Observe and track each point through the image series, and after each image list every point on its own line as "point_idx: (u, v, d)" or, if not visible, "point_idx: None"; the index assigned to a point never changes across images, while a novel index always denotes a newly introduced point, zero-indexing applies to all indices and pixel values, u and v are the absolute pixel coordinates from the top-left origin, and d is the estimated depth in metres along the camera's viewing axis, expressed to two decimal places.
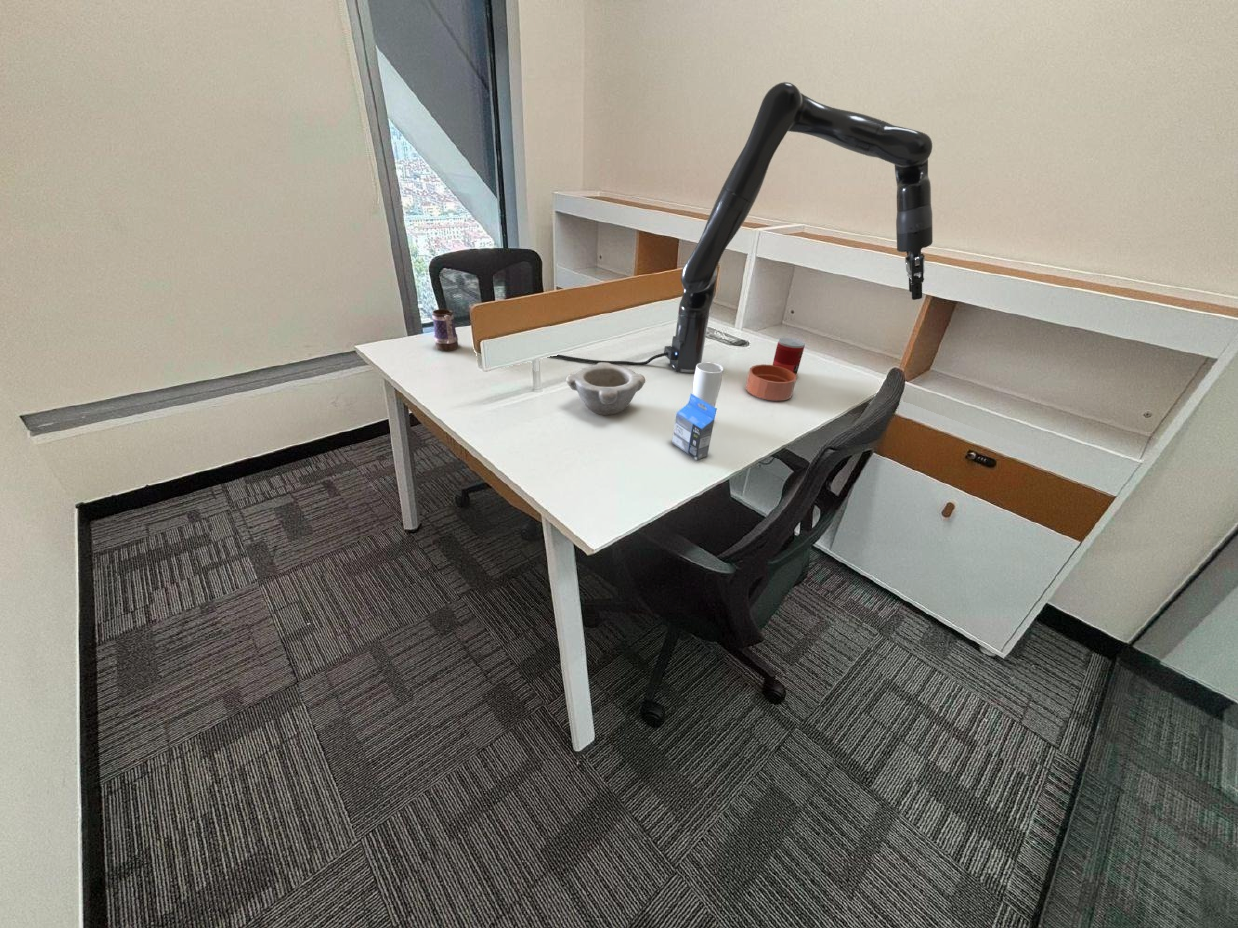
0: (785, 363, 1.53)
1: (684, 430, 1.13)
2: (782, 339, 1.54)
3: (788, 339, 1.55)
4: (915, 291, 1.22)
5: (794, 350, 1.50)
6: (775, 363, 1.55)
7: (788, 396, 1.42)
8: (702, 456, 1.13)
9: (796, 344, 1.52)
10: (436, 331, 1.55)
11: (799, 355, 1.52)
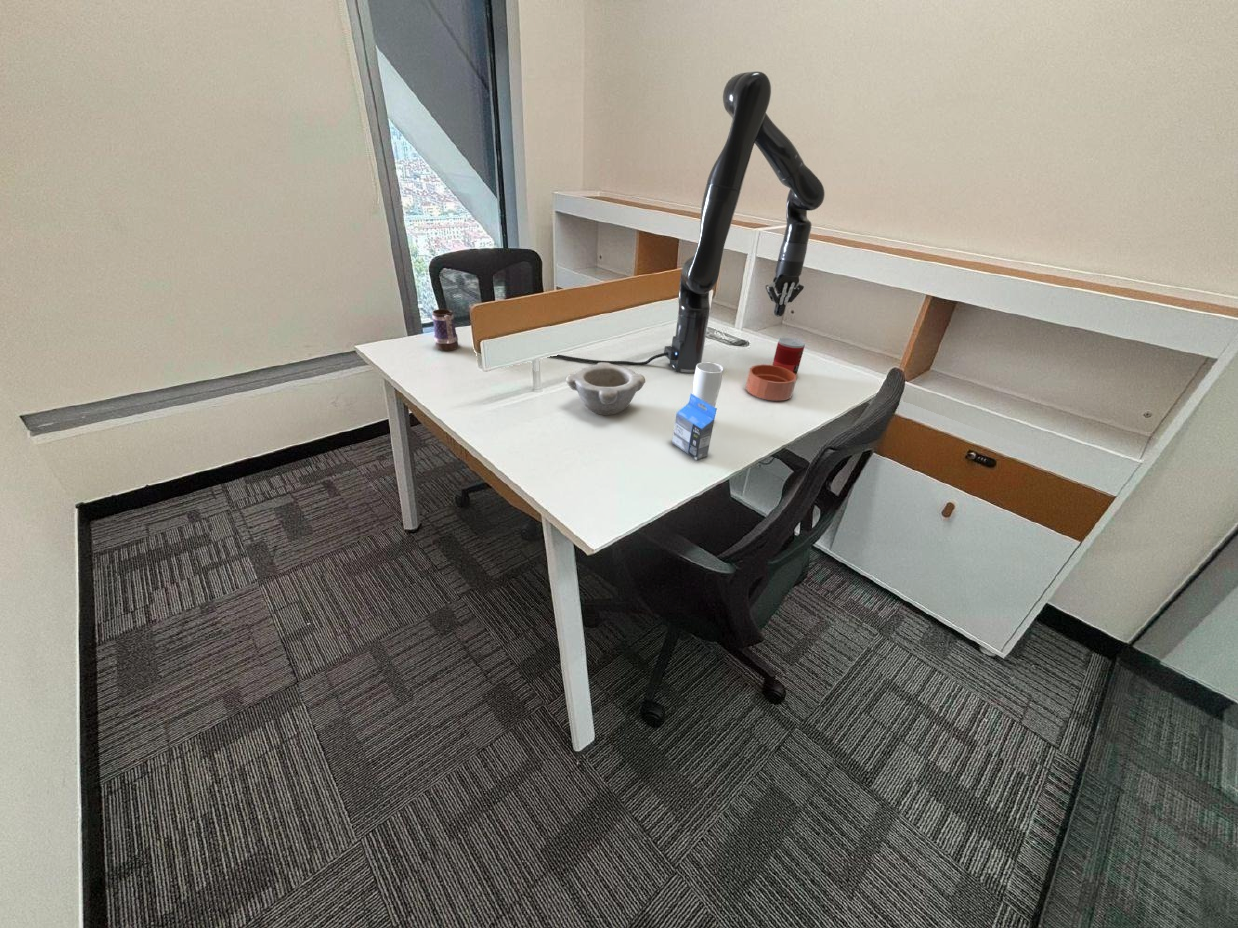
0: (785, 363, 1.53)
1: (684, 430, 1.13)
2: (782, 339, 1.54)
3: (788, 339, 1.55)
4: (775, 308, 1.56)
5: (794, 350, 1.50)
6: (775, 363, 1.55)
7: (788, 396, 1.42)
8: (702, 456, 1.13)
9: (796, 344, 1.52)
10: (436, 331, 1.55)
11: (799, 355, 1.52)
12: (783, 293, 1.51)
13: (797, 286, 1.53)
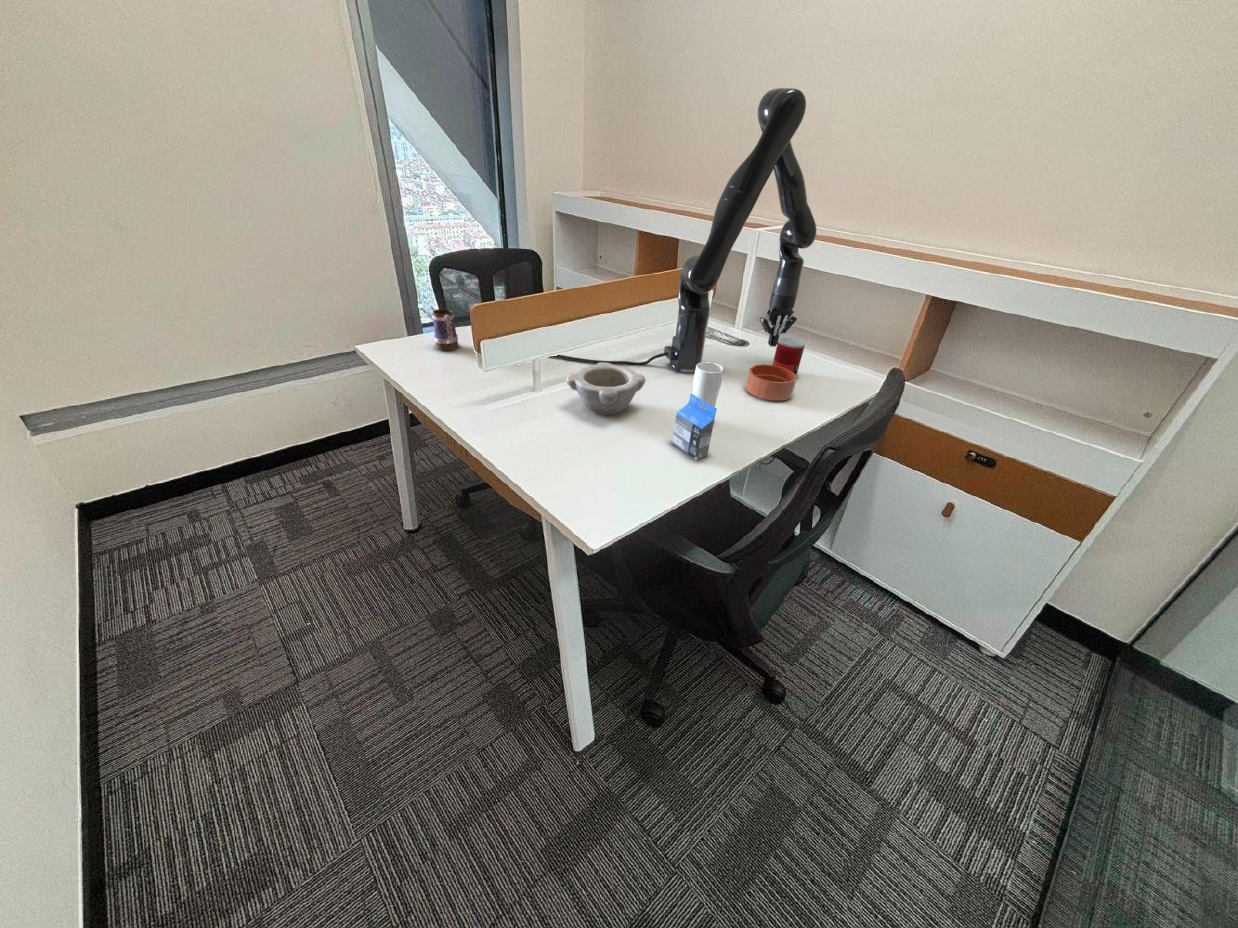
0: (785, 363, 1.53)
1: (684, 430, 1.13)
2: (782, 339, 1.54)
3: (788, 339, 1.55)
4: (769, 339, 1.61)
5: (794, 350, 1.50)
6: (775, 363, 1.55)
7: (788, 396, 1.42)
8: (702, 456, 1.13)
9: (796, 344, 1.52)
10: (436, 331, 1.55)
11: (799, 355, 1.52)
12: (777, 325, 1.56)
13: (790, 318, 1.58)
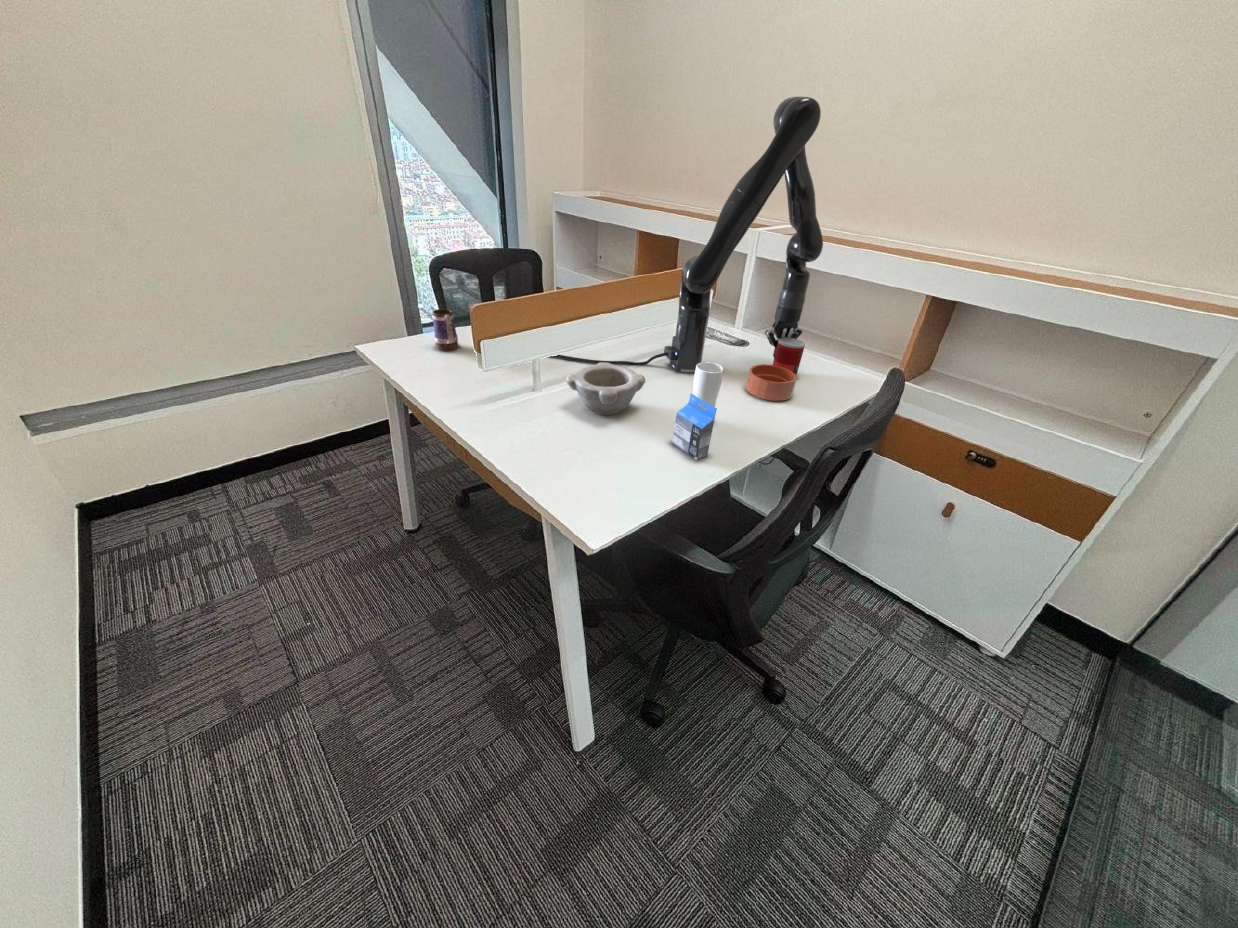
0: (785, 363, 1.53)
1: (684, 430, 1.13)
2: (782, 339, 1.54)
3: (788, 339, 1.55)
4: (774, 352, 1.59)
5: (795, 350, 1.50)
6: (775, 363, 1.55)
7: (788, 396, 1.42)
8: (702, 456, 1.13)
9: (796, 344, 1.52)
10: (436, 331, 1.55)
11: (799, 355, 1.52)
12: None
13: (796, 331, 1.57)
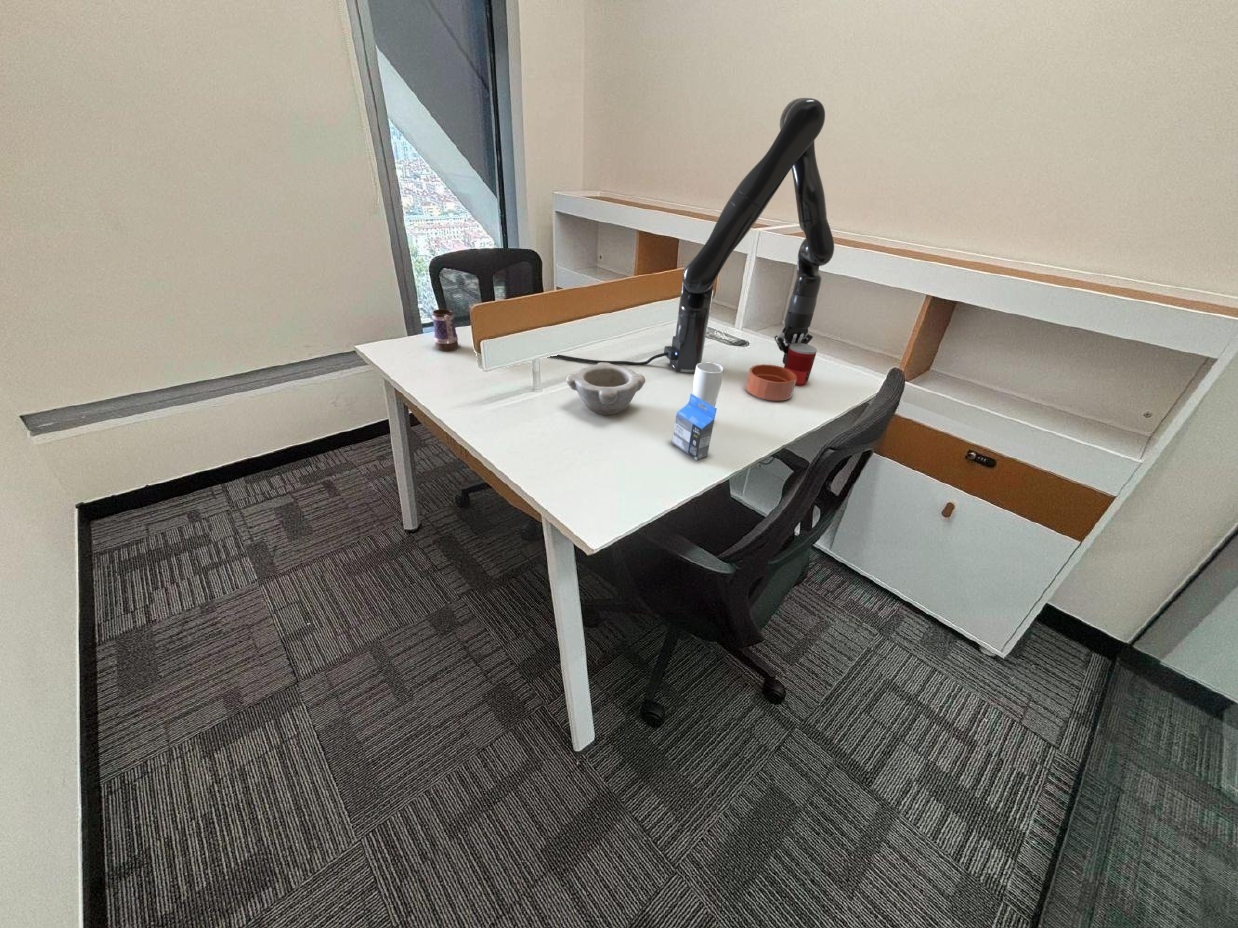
0: (798, 369, 1.49)
1: (684, 430, 1.13)
2: (793, 345, 1.50)
3: (798, 345, 1.51)
4: (783, 357, 1.55)
5: (808, 356, 1.46)
6: None
7: (788, 396, 1.42)
8: (702, 456, 1.13)
9: (808, 350, 1.48)
10: (436, 331, 1.55)
11: (812, 361, 1.48)
12: None
13: (806, 336, 1.53)
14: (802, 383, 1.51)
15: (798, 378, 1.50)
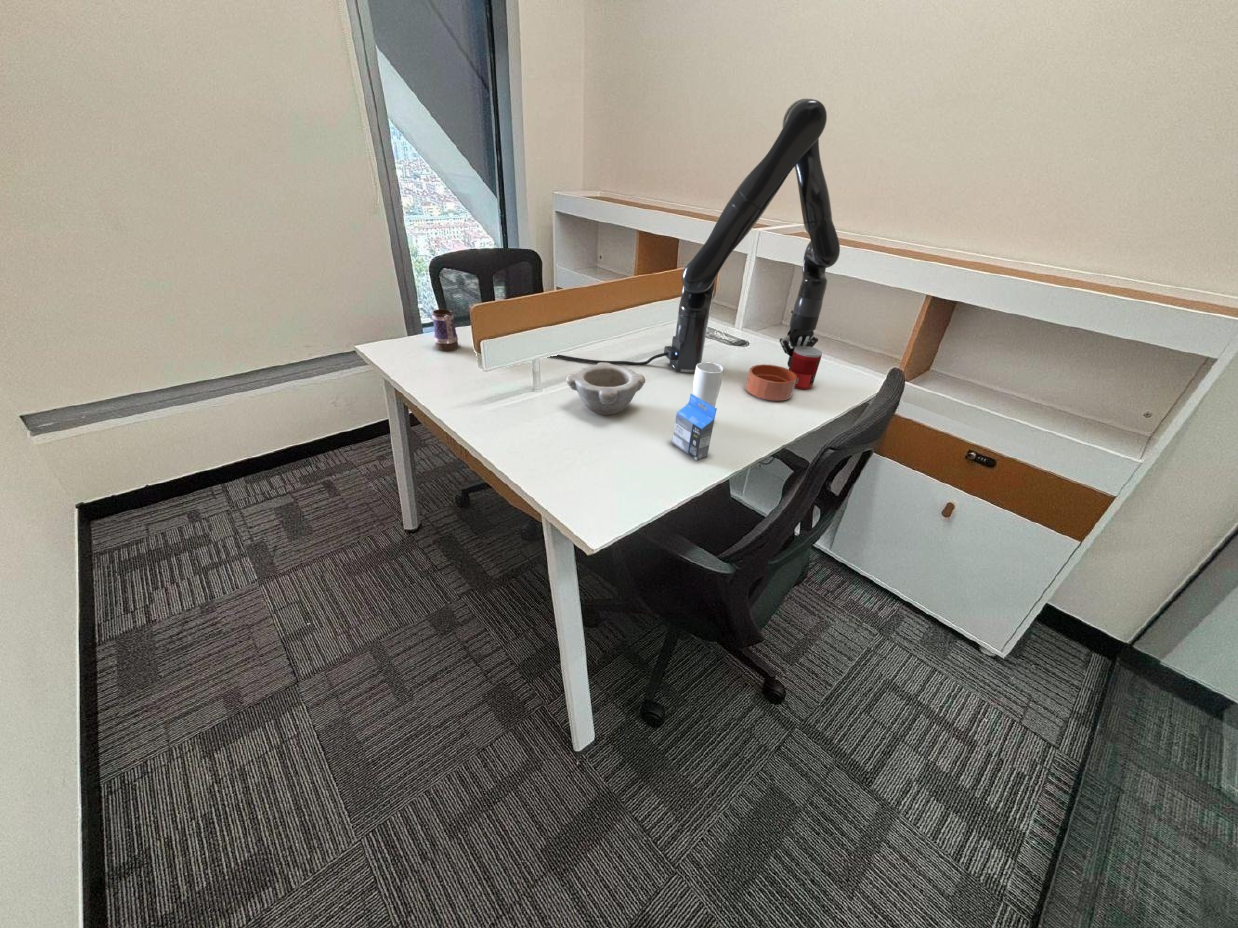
0: (802, 373, 1.47)
1: (684, 430, 1.13)
2: (798, 348, 1.48)
3: (804, 347, 1.49)
4: (788, 360, 1.53)
5: (812, 359, 1.44)
6: None
7: (788, 396, 1.42)
8: (702, 456, 1.13)
9: (813, 353, 1.46)
10: (436, 331, 1.55)
11: (816, 364, 1.46)
12: (797, 346, 1.49)
13: (811, 339, 1.51)
14: (806, 387, 1.49)
15: (802, 381, 1.48)
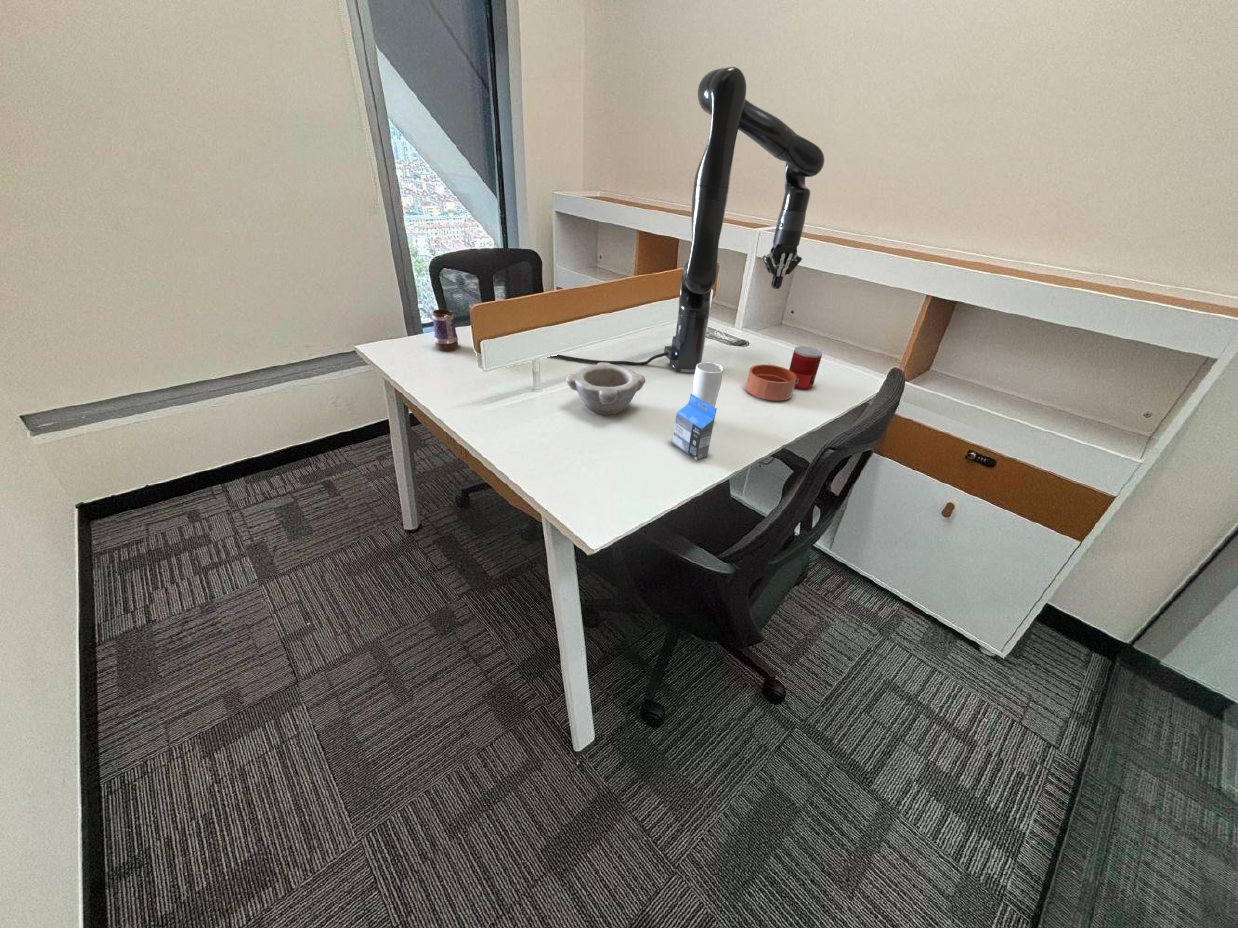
0: (802, 373, 1.47)
1: (684, 430, 1.13)
2: (798, 348, 1.48)
3: (804, 348, 1.49)
4: (772, 280, 1.53)
5: (812, 359, 1.44)
6: None
7: (788, 396, 1.42)
8: (702, 456, 1.13)
9: (813, 353, 1.46)
10: (436, 331, 1.55)
11: (817, 364, 1.46)
12: (780, 264, 1.48)
13: (795, 257, 1.50)
14: (807, 387, 1.49)
15: (802, 382, 1.48)
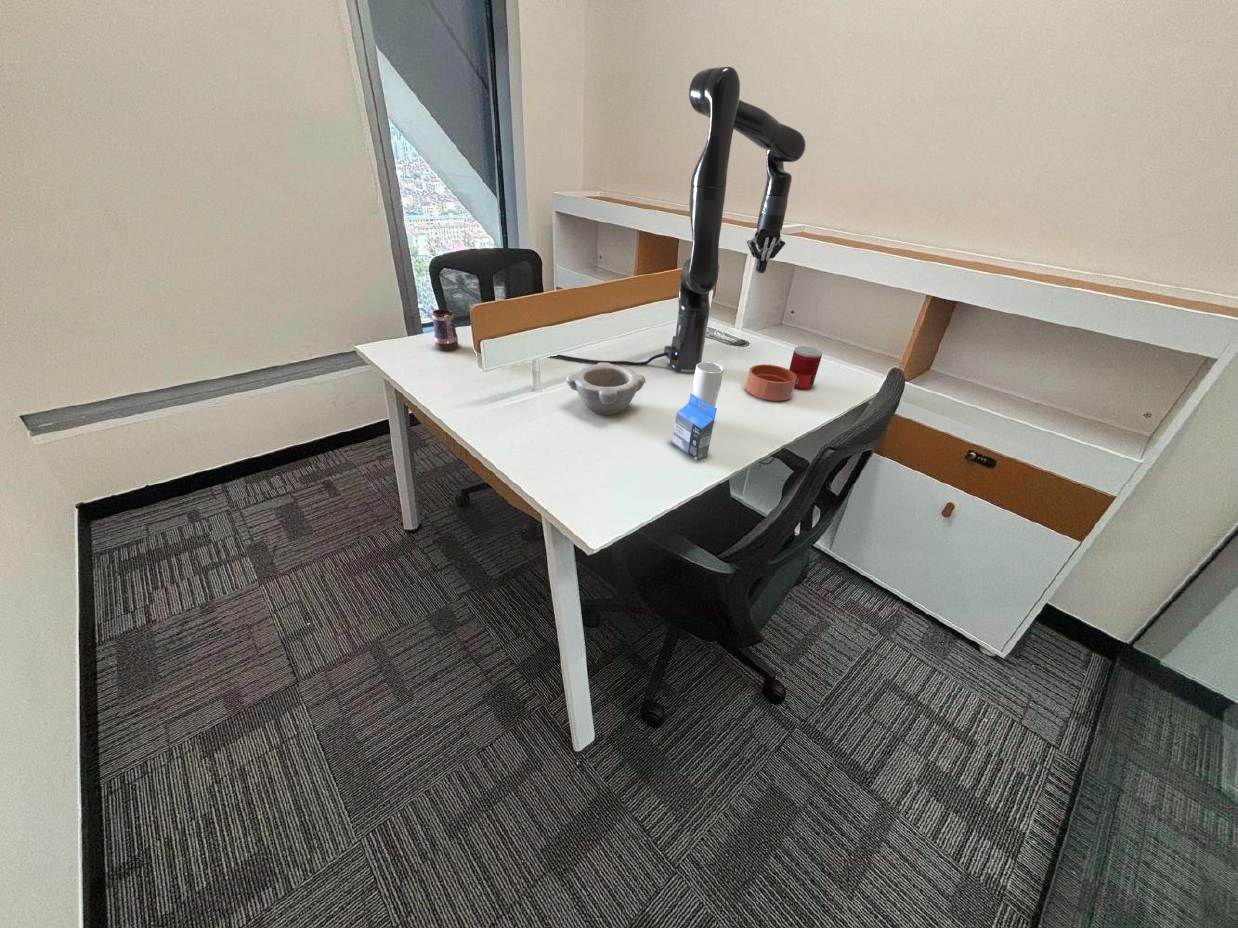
0: (802, 373, 1.47)
1: (684, 430, 1.13)
2: (798, 348, 1.48)
3: (804, 348, 1.49)
4: (757, 265, 1.57)
5: (812, 359, 1.44)
6: None
7: (788, 396, 1.42)
8: (702, 456, 1.13)
9: (813, 353, 1.46)
10: (436, 331, 1.55)
11: (817, 364, 1.46)
12: (764, 248, 1.52)
13: (778, 242, 1.54)
14: (807, 387, 1.49)
15: (802, 382, 1.48)
